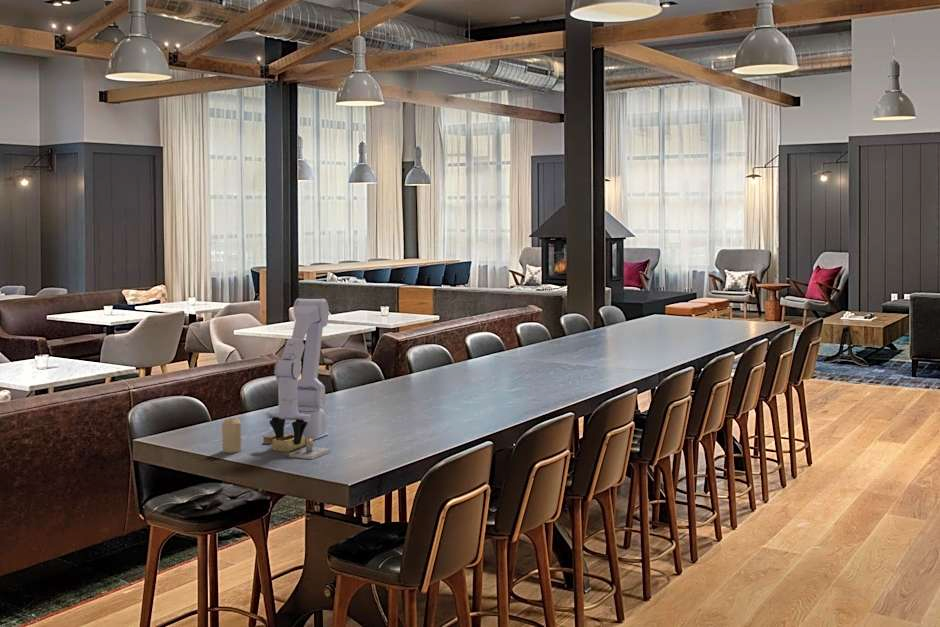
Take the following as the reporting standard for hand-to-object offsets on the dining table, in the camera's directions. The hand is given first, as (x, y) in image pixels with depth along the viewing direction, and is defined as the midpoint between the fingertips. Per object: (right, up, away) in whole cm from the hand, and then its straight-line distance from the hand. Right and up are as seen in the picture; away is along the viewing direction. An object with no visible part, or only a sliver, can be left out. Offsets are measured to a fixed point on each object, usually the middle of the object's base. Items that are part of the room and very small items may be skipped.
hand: (289, 443), depth 307 cm
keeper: (+8, -2, -9) cm, 12 cm away
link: (0, -1, 0) cm, 1 cm away
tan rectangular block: (-7, -1, +8) cm, 11 cm away
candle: (-16, -2, -4) cm, 17 cm away
